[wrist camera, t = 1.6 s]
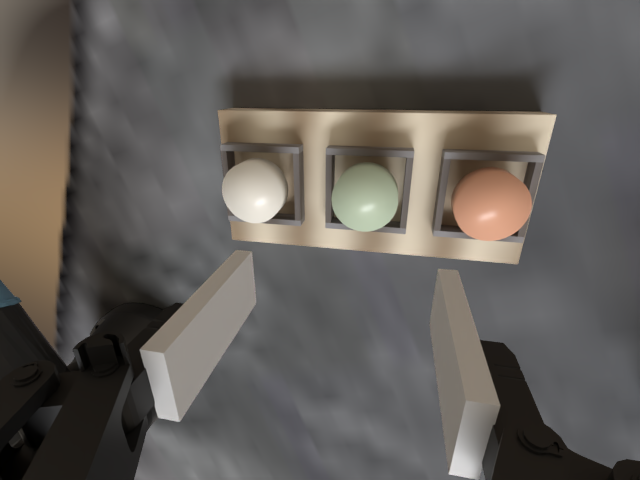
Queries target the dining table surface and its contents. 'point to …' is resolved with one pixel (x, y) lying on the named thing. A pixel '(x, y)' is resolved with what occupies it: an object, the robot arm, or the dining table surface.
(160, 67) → the dining table surface
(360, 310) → the dining table surface
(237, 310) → the robot arm
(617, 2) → the dining table surface
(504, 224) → the terracotta button
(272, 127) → the button panel
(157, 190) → the dining table surface
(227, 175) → the cream button
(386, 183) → the sage button
